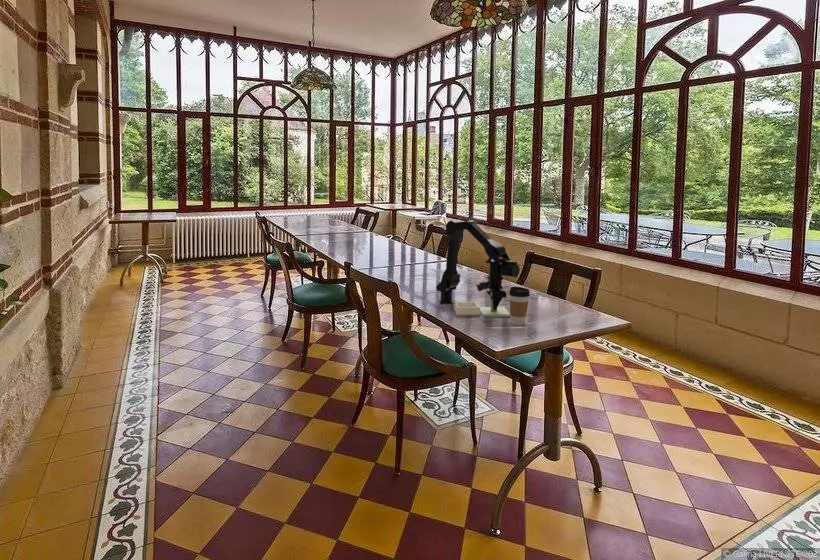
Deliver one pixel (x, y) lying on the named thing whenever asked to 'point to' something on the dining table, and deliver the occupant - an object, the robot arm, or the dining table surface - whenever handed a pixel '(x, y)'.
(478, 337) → the dining table surface
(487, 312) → the lid
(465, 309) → the cream square tray
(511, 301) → the coffee cup
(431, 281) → the dining table surface
